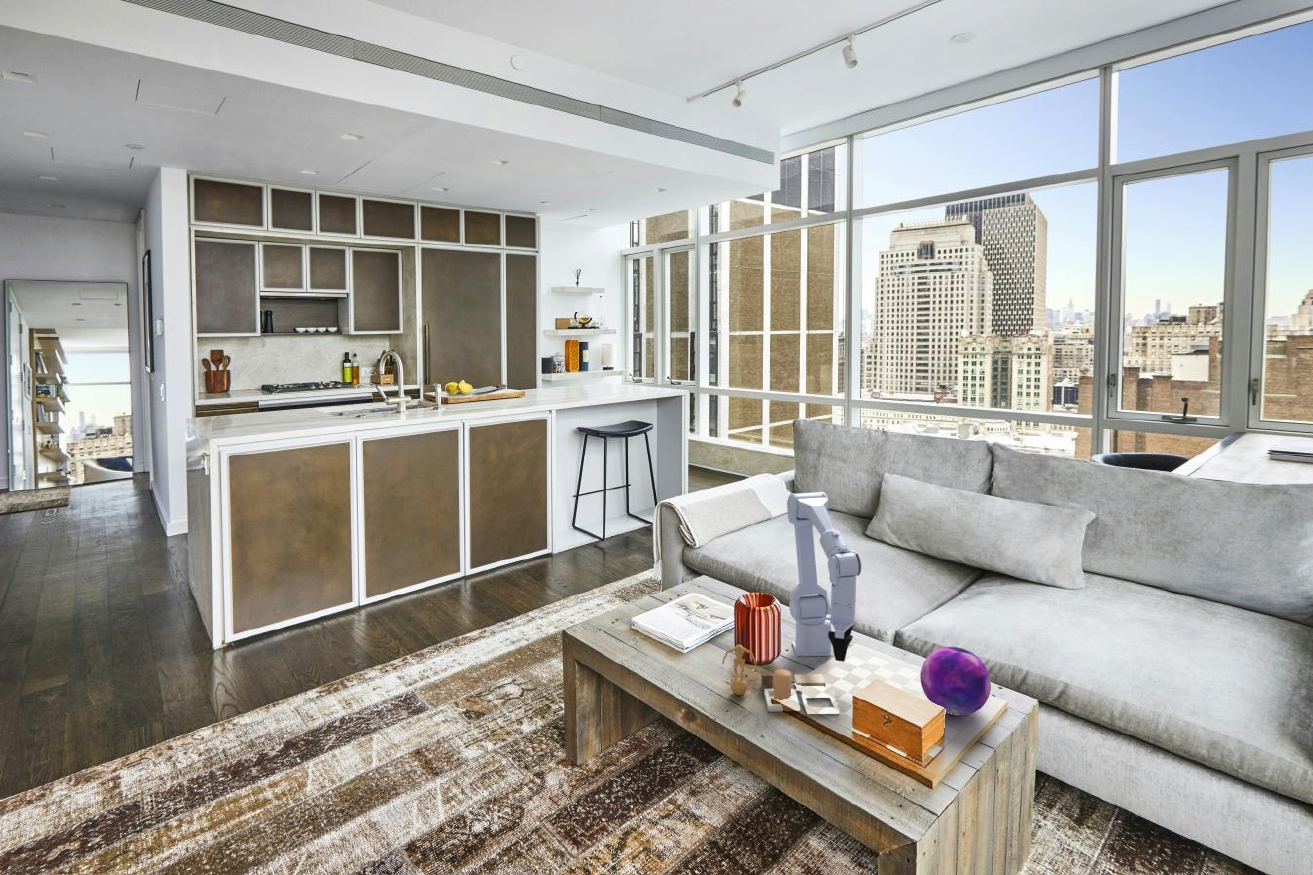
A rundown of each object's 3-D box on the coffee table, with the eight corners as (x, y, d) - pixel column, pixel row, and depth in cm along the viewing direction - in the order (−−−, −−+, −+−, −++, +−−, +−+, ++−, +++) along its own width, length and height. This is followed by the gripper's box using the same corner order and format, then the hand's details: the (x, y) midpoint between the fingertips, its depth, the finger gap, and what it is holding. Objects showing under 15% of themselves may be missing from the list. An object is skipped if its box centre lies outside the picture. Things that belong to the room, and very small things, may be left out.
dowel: (788, 695, 170) (789, 669, 169) (791, 705, 166) (792, 678, 165) (772, 695, 170) (773, 669, 169) (774, 704, 166) (775, 677, 165)
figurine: (721, 697, 171) (721, 651, 169) (722, 684, 177) (722, 640, 174) (756, 699, 170) (756, 653, 167) (756, 686, 175) (756, 641, 173)
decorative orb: (959, 736, 154) (963, 673, 151) (905, 704, 167) (908, 645, 164) (1003, 716, 161) (1007, 655, 158) (947, 686, 174) (951, 630, 171)
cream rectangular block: (822, 683, 176) (822, 674, 176) (825, 692, 172) (825, 682, 172) (794, 683, 176) (794, 674, 176) (796, 692, 172) (796, 682, 172)
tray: (795, 694, 172) (795, 688, 171) (800, 711, 164) (800, 705, 164) (764, 694, 172) (764, 688, 172) (768, 711, 164) (768, 705, 164)
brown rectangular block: (771, 685, 176) (771, 670, 175) (772, 690, 173) (772, 675, 173) (761, 685, 176) (761, 670, 175) (762, 690, 173) (762, 675, 173)
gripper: (829, 587, 178) (828, 637, 180) (822, 610, 164) (821, 664, 167) (858, 591, 175) (857, 641, 178) (853, 614, 162) (851, 669, 164)
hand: (841, 653), depth 172 cm, fingers open, 7 cm apart
